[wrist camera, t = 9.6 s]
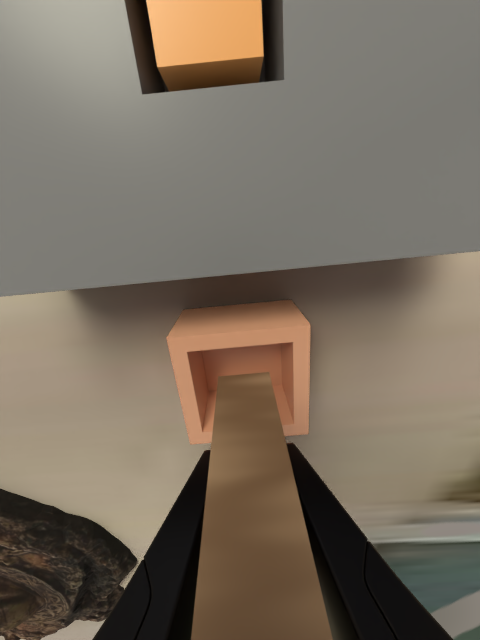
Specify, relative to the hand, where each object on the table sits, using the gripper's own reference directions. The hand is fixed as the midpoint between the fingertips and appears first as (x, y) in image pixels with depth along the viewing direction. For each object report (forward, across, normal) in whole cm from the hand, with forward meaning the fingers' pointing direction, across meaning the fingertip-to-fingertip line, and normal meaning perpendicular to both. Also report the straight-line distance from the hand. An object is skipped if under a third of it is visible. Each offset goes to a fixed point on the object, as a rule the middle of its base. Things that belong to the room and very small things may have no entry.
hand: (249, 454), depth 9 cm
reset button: (+7, 0, -14) cm, 16 cm away
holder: (+8, 0, 0) cm, 8 cm away
